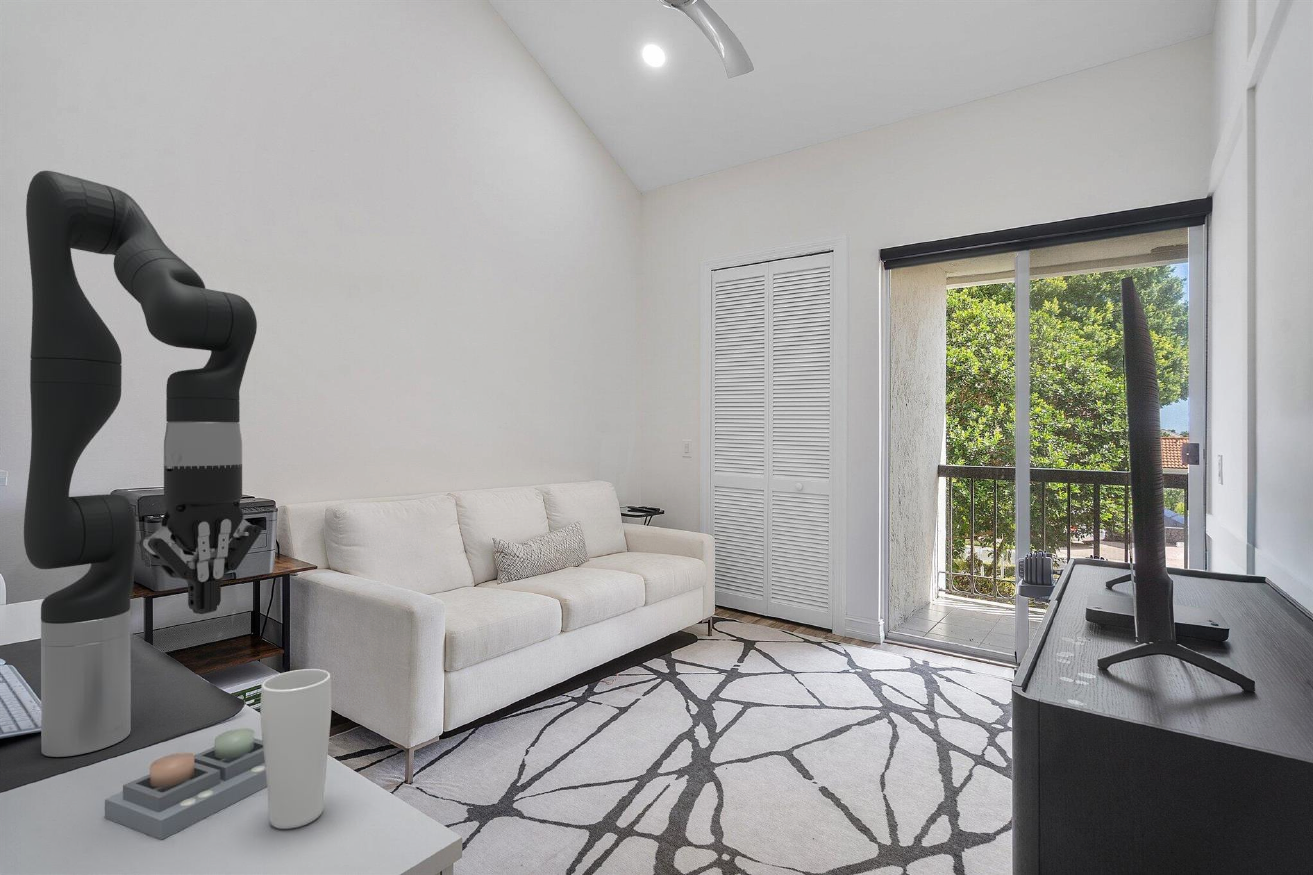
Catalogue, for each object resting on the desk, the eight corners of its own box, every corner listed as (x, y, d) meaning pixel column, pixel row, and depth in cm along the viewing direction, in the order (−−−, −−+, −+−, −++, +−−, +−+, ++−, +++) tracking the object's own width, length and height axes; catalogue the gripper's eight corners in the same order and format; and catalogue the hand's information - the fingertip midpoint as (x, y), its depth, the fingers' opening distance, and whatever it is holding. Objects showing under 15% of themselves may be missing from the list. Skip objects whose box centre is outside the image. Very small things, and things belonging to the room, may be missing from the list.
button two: (141, 782, 74) (141, 765, 74) (180, 765, 77) (180, 750, 77) (164, 790, 72) (164, 773, 72) (202, 773, 76) (202, 756, 76)
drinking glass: (302, 839, 69) (301, 693, 69) (245, 831, 70) (244, 688, 70) (345, 804, 76) (344, 670, 76) (292, 797, 77) (292, 666, 77)
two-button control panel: (104, 817, 73) (104, 785, 73) (239, 757, 87) (239, 730, 87) (161, 839, 69) (161, 805, 69) (293, 772, 83) (293, 744, 83)
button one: (206, 754, 80) (206, 739, 80) (239, 740, 84) (239, 726, 84) (228, 761, 78) (228, 745, 78) (261, 746, 82) (261, 731, 82)
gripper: (238, 459, 85) (238, 596, 85) (119, 463, 73) (120, 623, 73) (279, 460, 82) (279, 602, 82) (162, 464, 70) (162, 631, 70)
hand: (204, 612), depth 78 cm, fingers closed
